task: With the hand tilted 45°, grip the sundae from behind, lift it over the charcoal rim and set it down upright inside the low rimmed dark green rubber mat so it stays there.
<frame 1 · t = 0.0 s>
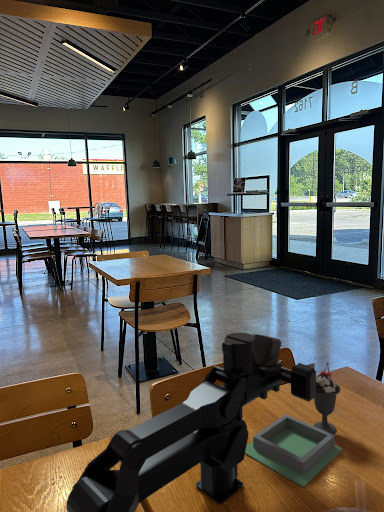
hand: (295, 359, 85), 17 cm above the table, tool horizontal, fingers open, 9 cm apart
sundae: (324, 429, 87), on the table
rimmed mat: (293, 448, 80), on the table
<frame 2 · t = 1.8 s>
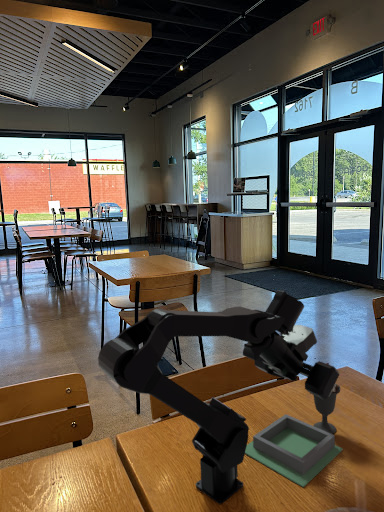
hand: (312, 386, 83), 11 cm above the table, tool tilted 45°, fingers open, 9 cm apart
nothing on the table moved.
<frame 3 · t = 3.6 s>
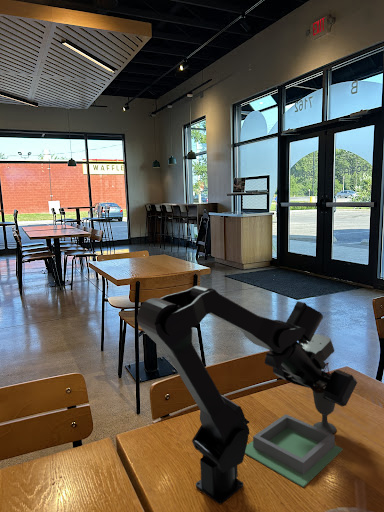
hand: (328, 392, 86), 8 cm above the table, tool tilted 45°, fingers closed on sundae, 6 cm apart
sundae: (324, 429, 87), on the table, touching gripper
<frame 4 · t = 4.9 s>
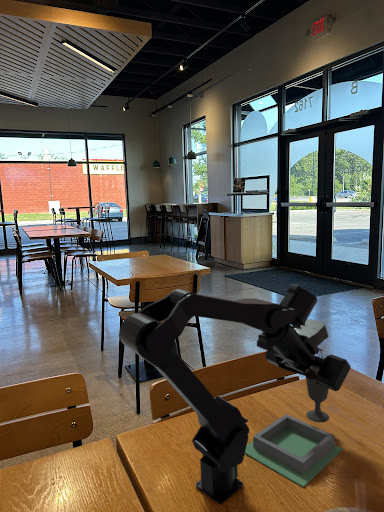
hand: (322, 380, 84), 12 cm above the table, tool tilted 45°, fingers closed on sundae, 6 cm apart
sundae: (317, 417, 85), point 4 cm above the table, touching gripper
when the fingers open (10 cm above the table, at t = 6.7 s): sundae drops 1 cm, resting on rimmed mat.
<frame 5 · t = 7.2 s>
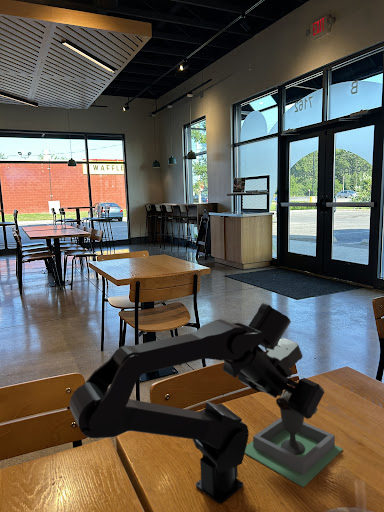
hand: (297, 402, 80), 10 cm above the table, tool tilted 45°, fingers open, 9 cm apart
sundae: (292, 448, 80), resting on rimmed mat
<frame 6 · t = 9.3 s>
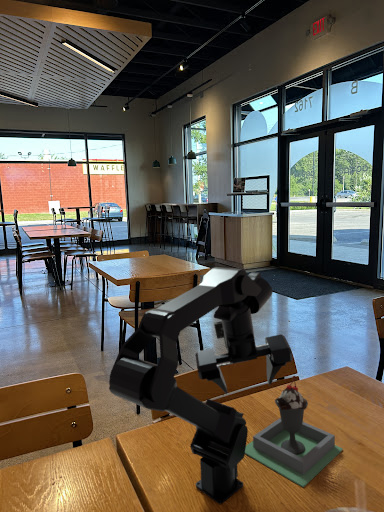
hand: (247, 387, 80), 13 cm above the table, tool tilted 20°, fingers open, 9 cm apart
nothing on the table moved.
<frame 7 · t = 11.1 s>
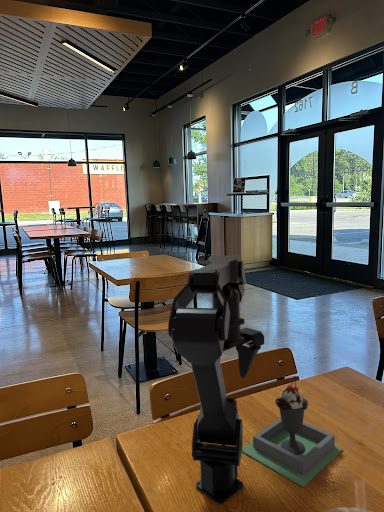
hand: (228, 384, 82), 13 cm above the table, tool pointing down, fingers open, 9 cm apart
nothing on the table moved.
at the end: sundae 0.3 cm off-centre on the rimmed mat, point 0.1 cm above the rimmed mat's base; sundae tilted 1°; the gripper is holding nothing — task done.
